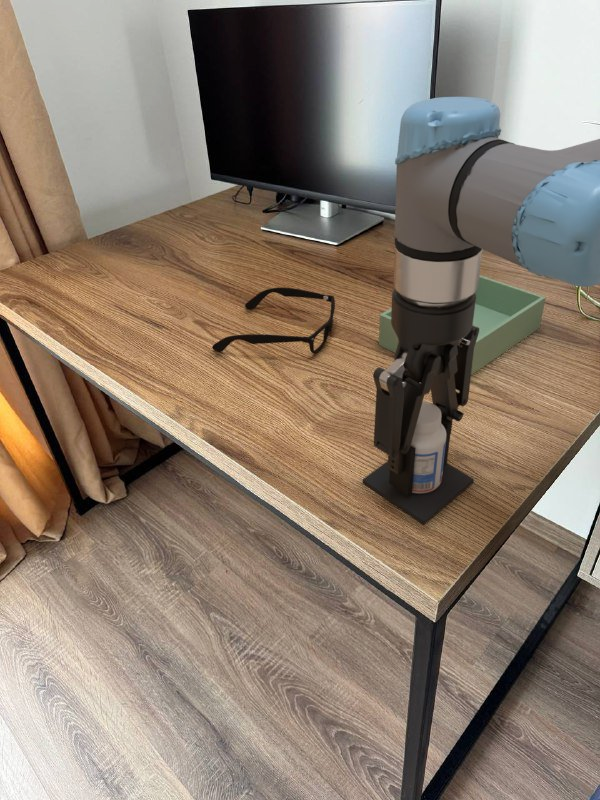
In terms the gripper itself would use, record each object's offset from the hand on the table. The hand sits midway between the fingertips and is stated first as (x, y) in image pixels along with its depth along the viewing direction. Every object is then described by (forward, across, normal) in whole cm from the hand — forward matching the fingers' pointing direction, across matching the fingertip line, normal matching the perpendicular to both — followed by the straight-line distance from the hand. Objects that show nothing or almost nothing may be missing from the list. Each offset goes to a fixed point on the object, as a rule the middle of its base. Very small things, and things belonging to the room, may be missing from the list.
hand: (418, 473), depth 67 cm
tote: (+2, -30, -16) cm, 34 cm away
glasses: (+2, -11, -38) cm, 40 cm away
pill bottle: (+1, 0, 0) cm, 1 cm away
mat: (+1, 0, 0) cm, 1 cm away
